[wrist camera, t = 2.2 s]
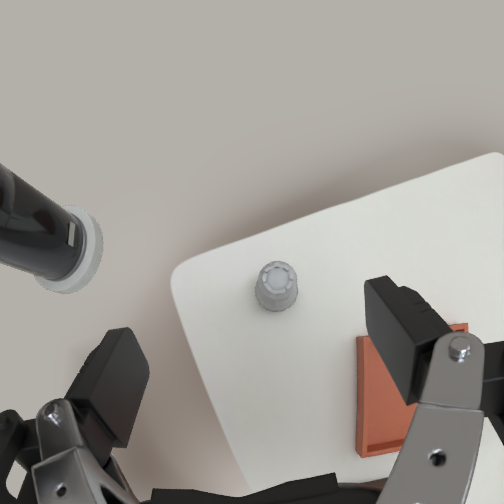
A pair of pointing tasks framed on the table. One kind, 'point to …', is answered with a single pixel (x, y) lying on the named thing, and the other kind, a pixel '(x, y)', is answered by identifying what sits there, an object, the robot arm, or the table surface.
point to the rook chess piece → (276, 286)
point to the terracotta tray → (380, 403)
